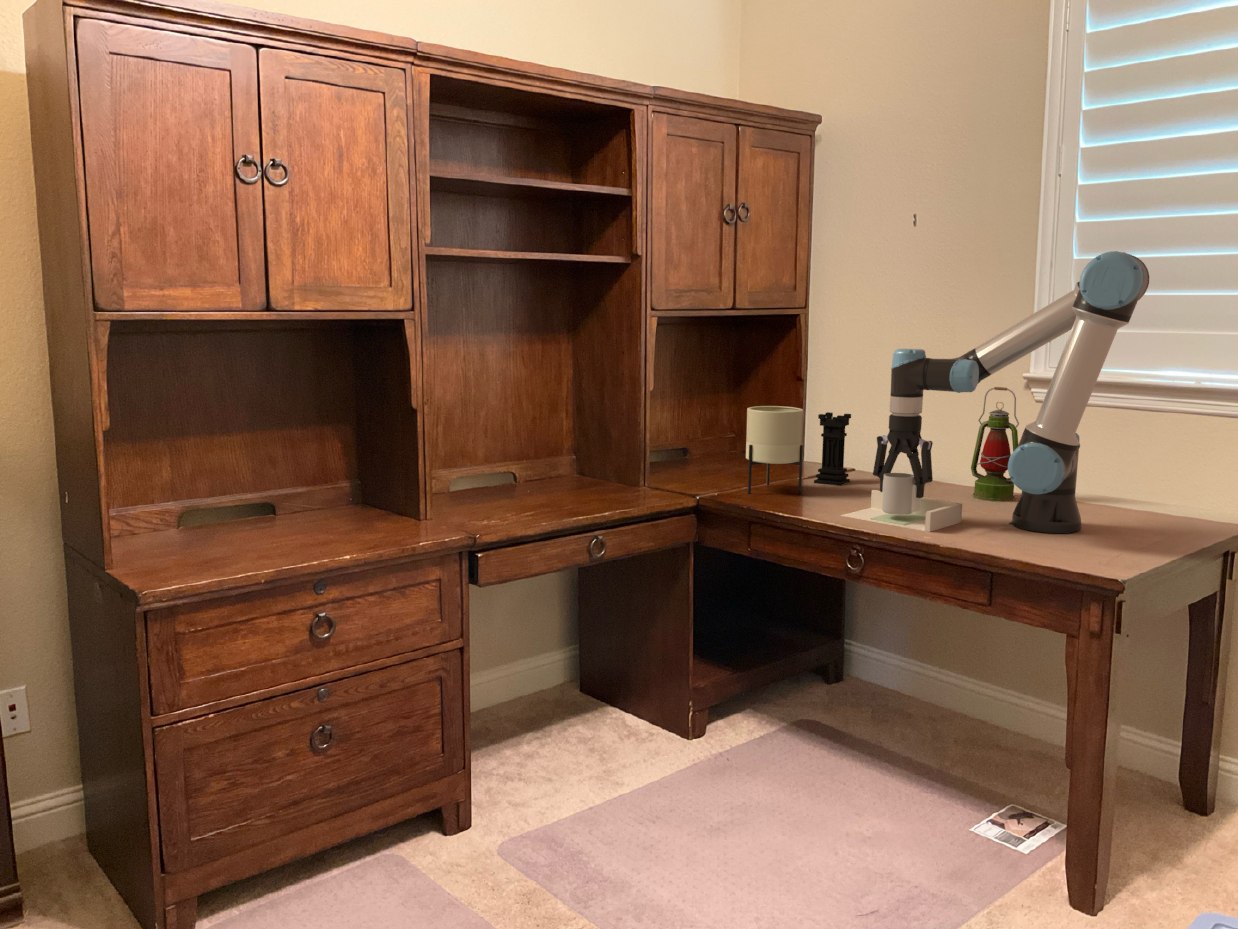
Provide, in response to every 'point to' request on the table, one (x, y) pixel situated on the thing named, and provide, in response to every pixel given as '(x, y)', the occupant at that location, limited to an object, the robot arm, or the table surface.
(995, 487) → the lantern
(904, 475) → the cup
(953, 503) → the tray
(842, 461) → the chess piece
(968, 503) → the table surface
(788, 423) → the planter
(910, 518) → the pad
